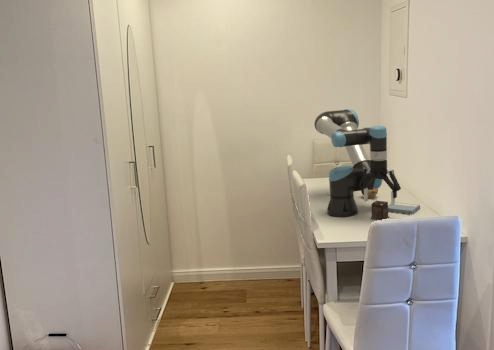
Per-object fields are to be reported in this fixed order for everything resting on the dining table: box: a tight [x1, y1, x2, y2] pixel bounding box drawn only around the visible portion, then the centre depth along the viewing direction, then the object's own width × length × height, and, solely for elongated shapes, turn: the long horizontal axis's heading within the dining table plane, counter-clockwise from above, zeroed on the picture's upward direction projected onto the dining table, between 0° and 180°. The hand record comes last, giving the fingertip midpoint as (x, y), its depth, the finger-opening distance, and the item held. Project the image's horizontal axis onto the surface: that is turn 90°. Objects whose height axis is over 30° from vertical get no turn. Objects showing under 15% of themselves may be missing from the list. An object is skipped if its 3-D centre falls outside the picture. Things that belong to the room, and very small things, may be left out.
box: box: [370, 200, 389, 220], centre depth 232 cm, size 6×6×7 cm
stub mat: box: [370, 215, 390, 221], centre depth 233 cm, size 7×6×1 cm
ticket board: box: [388, 201, 421, 216], centre depth 242 cm, size 14×12×2 cm
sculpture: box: [360, 188, 379, 199], centre depth 269 cm, size 9×9×15 cm
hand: (379, 202), depth 232 cm, fingers open, 13 cm apart
